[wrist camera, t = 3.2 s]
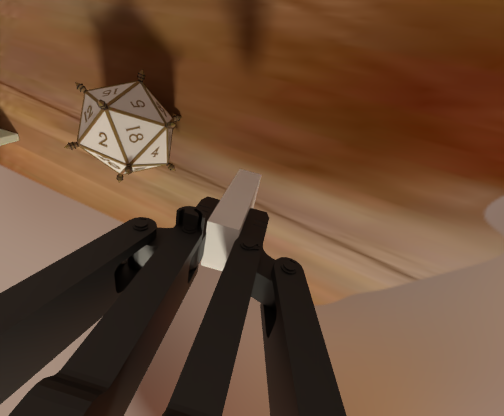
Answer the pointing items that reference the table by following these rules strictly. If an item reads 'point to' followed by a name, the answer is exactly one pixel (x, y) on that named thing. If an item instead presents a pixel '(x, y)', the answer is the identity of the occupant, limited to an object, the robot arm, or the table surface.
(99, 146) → the game die
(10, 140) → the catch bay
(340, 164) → the table surface
